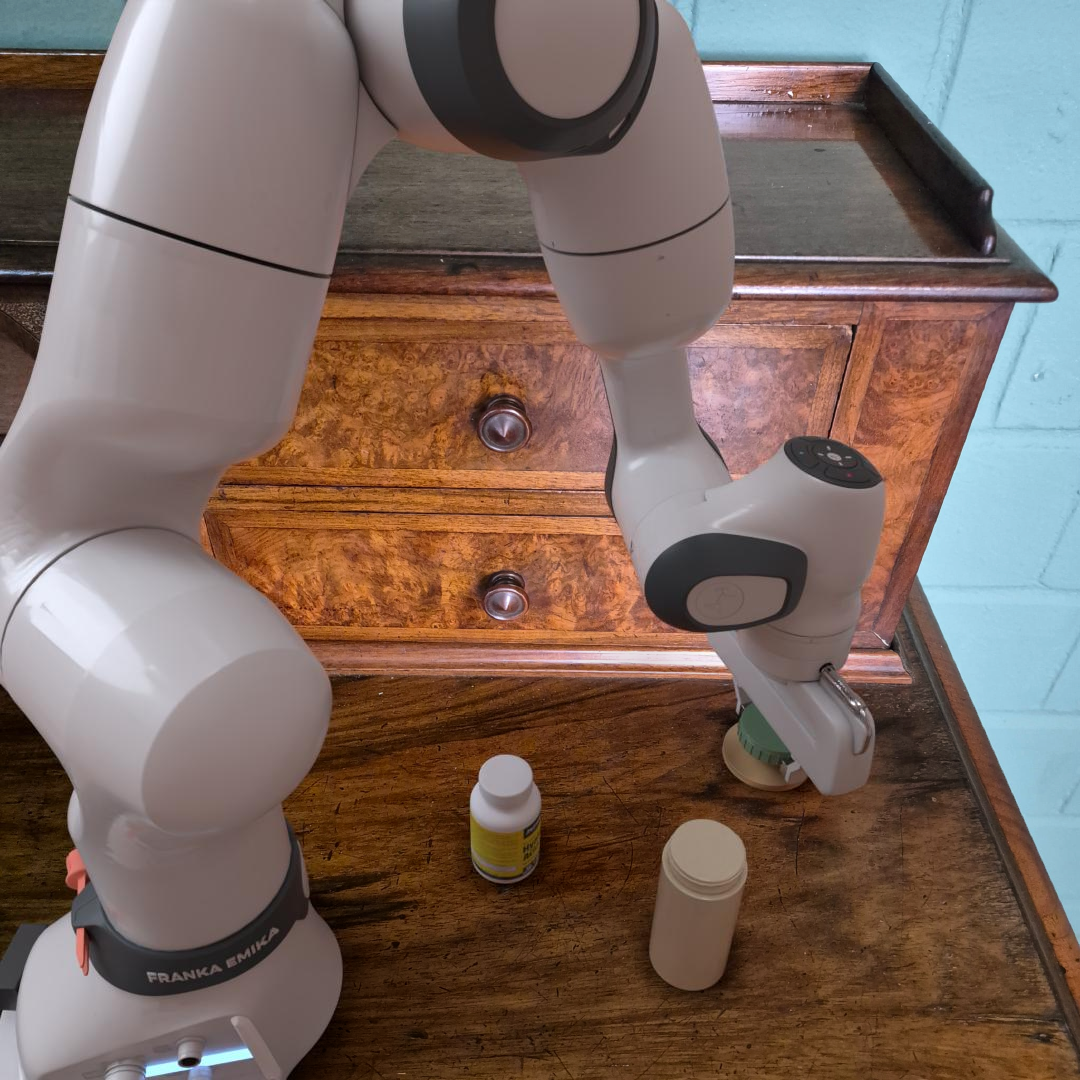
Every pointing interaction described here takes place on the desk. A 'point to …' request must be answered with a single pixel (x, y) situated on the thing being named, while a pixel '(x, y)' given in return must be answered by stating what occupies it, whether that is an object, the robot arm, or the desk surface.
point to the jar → (697, 904)
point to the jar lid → (760, 737)
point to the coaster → (752, 766)
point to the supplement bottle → (505, 820)
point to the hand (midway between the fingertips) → (768, 745)
